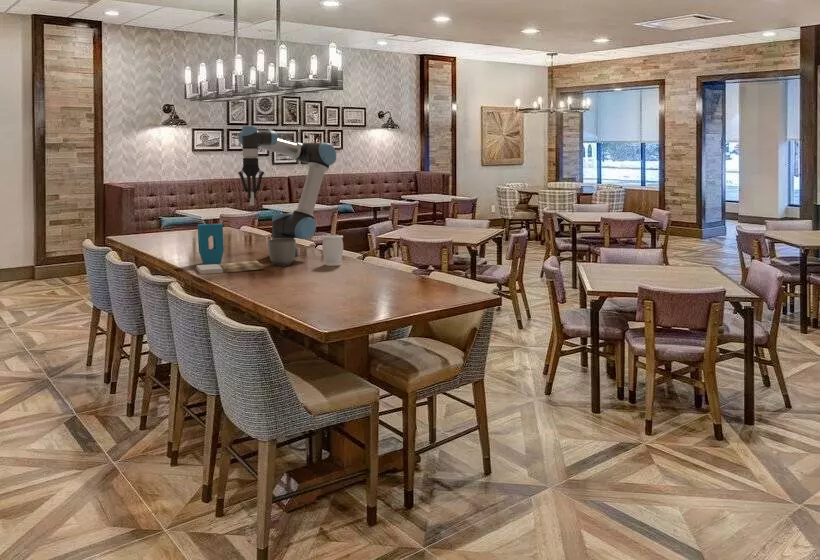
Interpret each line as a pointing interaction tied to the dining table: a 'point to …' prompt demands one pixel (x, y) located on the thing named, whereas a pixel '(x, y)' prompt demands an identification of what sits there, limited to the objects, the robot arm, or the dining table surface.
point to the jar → (332, 249)
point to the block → (203, 234)
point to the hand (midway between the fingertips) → (252, 205)
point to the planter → (282, 251)
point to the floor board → (209, 269)
